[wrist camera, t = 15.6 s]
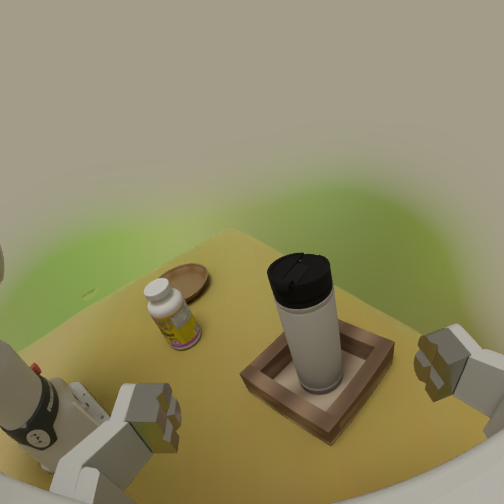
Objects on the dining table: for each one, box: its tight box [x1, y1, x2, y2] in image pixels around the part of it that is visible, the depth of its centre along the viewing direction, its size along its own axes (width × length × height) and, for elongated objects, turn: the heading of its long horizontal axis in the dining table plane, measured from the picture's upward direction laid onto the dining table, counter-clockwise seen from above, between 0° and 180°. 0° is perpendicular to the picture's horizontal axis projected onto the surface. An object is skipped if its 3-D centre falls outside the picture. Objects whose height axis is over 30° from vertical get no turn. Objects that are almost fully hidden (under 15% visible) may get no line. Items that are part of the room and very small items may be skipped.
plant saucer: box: [158, 263, 208, 303], centre depth 68 cm, size 15×15×3 cm
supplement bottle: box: [144, 278, 201, 350], centre depth 51 cm, size 7×7×13 cm
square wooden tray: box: [240, 319, 395, 446], centre depth 38 cm, size 15×15×5 cm
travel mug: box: [267, 253, 343, 394], centre depth 34 cm, size 6×7×20 cm
